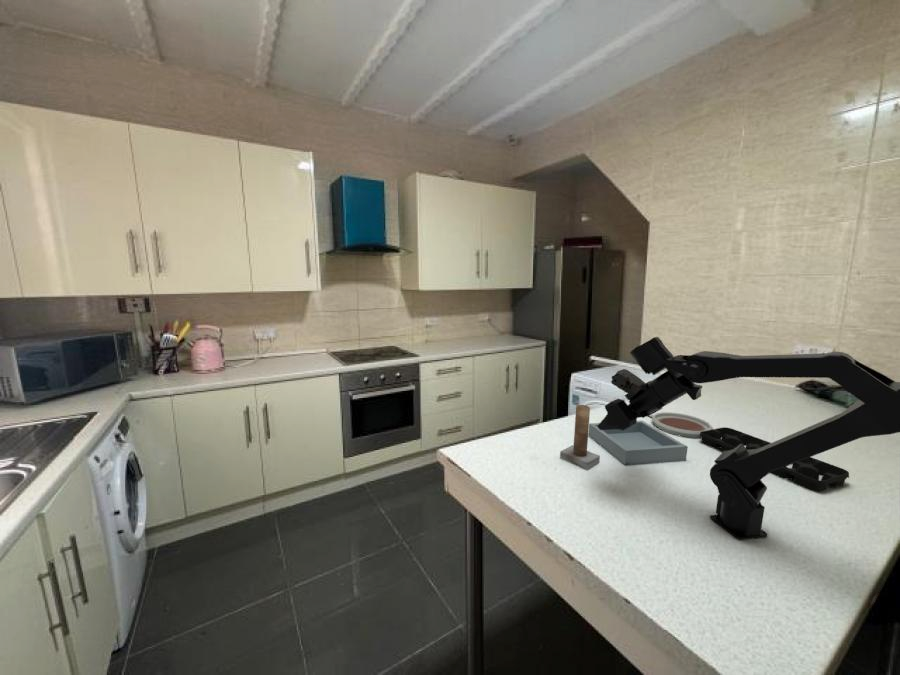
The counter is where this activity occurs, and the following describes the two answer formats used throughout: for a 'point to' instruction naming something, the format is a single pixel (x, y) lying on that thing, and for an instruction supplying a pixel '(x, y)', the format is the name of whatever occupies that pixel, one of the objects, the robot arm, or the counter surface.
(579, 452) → the brown post on plinth
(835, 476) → the egg carton
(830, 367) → the robot arm
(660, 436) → the tray
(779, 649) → the counter surface
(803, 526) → the counter surface
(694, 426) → the frying pan
